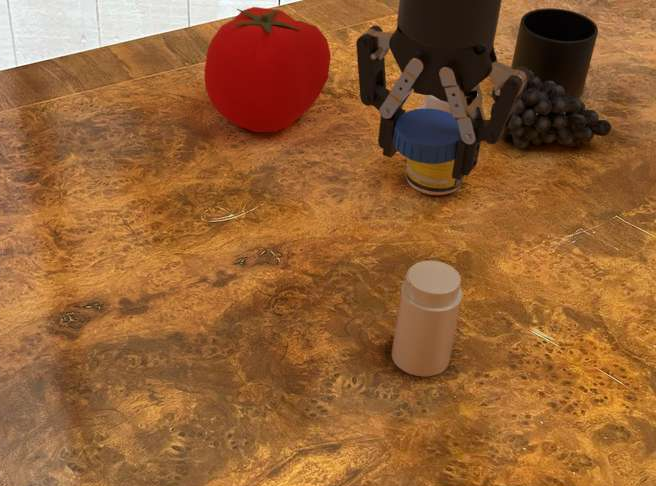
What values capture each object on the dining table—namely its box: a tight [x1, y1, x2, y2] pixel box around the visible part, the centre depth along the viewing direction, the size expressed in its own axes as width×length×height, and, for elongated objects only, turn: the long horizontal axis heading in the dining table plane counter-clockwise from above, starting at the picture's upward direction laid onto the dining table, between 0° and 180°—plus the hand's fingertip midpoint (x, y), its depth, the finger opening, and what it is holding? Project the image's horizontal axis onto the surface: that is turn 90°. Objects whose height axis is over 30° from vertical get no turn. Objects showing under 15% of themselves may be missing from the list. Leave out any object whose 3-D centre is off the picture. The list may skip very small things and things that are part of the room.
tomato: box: [204, 6, 331, 133], centre depth 126 cm, size 16×14×14 cm
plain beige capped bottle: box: [391, 260, 464, 378], centre depth 96 cm, size 5×5×10 cm
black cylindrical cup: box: [510, 7, 599, 100], centre depth 136 cm, size 9×12×9 cm
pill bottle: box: [405, 95, 464, 196], centre depth 117 cm, size 6×6×12 cm
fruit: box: [485, 70, 612, 150], centre depth 125 cm, size 9×8×15 cm
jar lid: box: [393, 108, 461, 164], centre depth 88 cm, size 6×6×2 cm
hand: (425, 163), depth 89 cm, fingers closed on jar lid, 5 cm apart
